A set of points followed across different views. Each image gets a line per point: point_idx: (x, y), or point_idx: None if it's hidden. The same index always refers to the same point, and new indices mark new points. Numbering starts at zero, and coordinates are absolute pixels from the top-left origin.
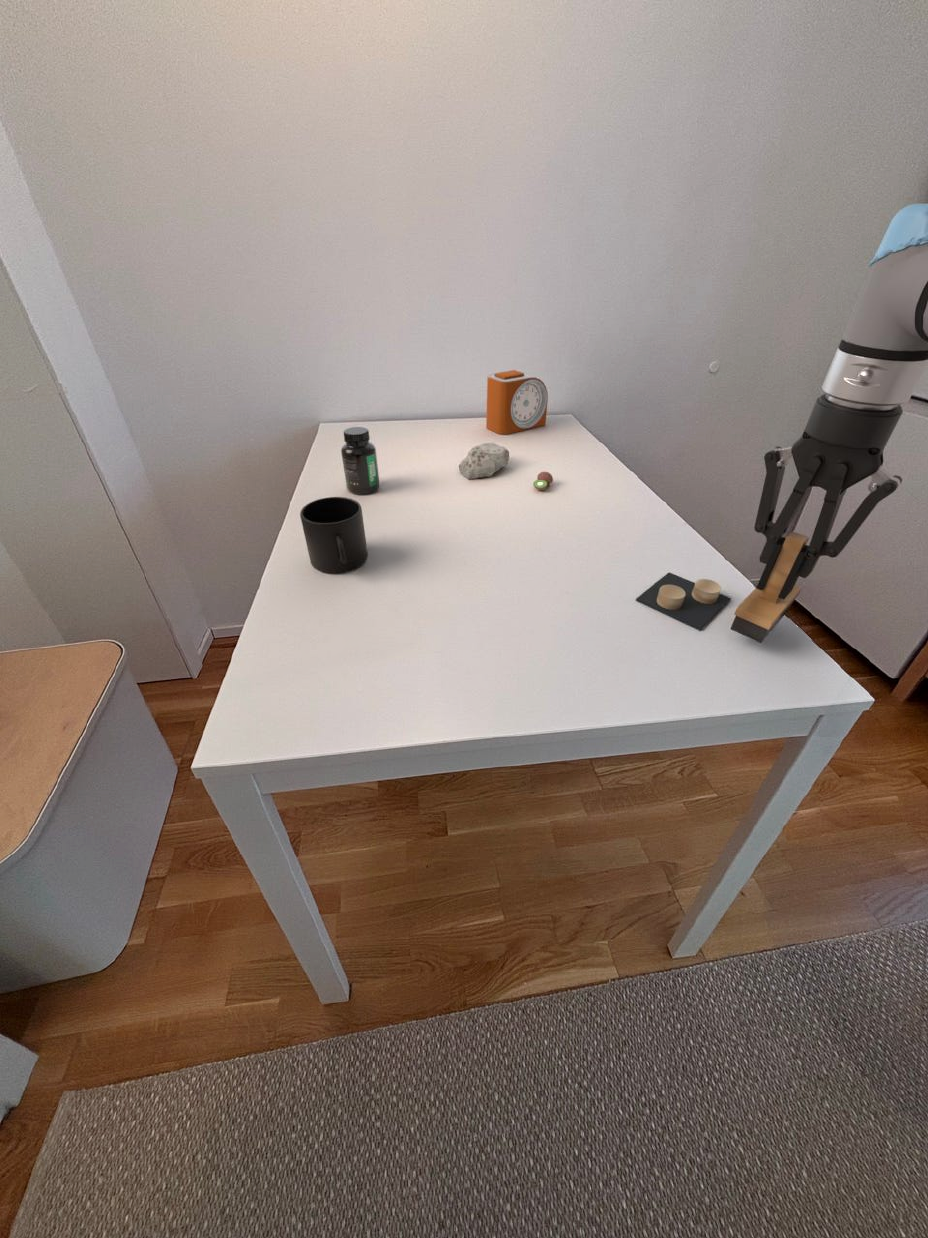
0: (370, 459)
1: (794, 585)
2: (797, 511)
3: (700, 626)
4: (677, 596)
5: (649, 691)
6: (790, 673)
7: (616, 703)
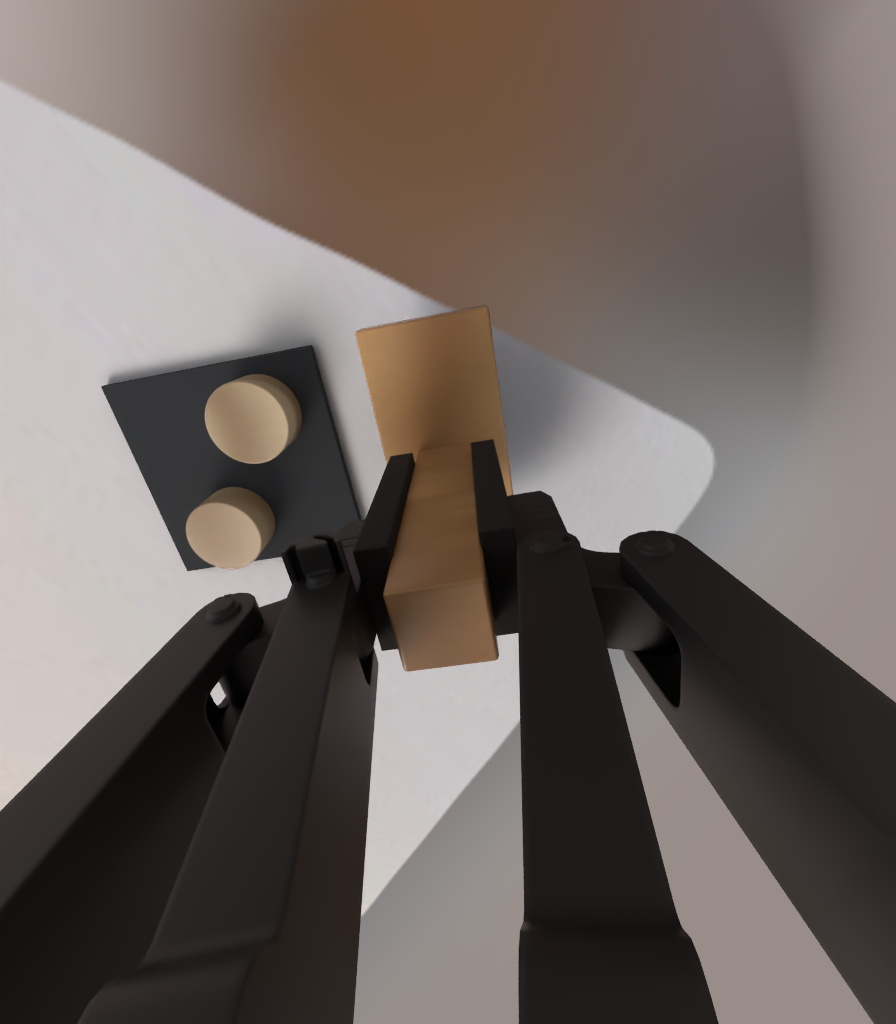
0: None
1: (461, 320)
2: (329, 685)
3: None
4: (249, 545)
5: (437, 740)
6: (593, 504)
7: (424, 788)
